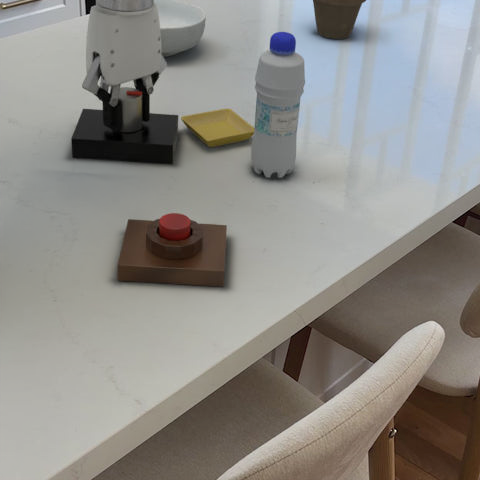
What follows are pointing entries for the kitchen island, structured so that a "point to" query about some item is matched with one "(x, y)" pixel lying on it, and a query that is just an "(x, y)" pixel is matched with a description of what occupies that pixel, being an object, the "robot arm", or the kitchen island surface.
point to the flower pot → (336, 17)
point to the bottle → (277, 106)
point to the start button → (174, 227)
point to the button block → (173, 255)
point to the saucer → (218, 127)
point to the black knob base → (125, 139)
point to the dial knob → (130, 109)
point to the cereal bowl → (179, 25)
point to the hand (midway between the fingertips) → (126, 122)
